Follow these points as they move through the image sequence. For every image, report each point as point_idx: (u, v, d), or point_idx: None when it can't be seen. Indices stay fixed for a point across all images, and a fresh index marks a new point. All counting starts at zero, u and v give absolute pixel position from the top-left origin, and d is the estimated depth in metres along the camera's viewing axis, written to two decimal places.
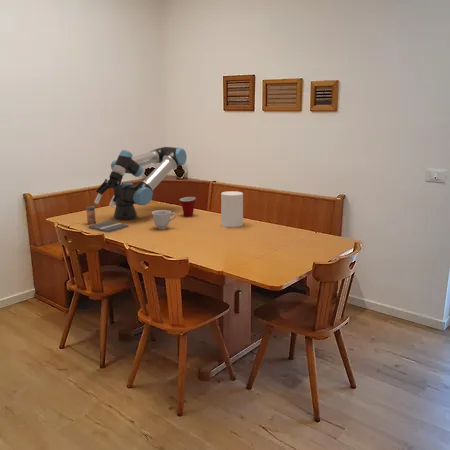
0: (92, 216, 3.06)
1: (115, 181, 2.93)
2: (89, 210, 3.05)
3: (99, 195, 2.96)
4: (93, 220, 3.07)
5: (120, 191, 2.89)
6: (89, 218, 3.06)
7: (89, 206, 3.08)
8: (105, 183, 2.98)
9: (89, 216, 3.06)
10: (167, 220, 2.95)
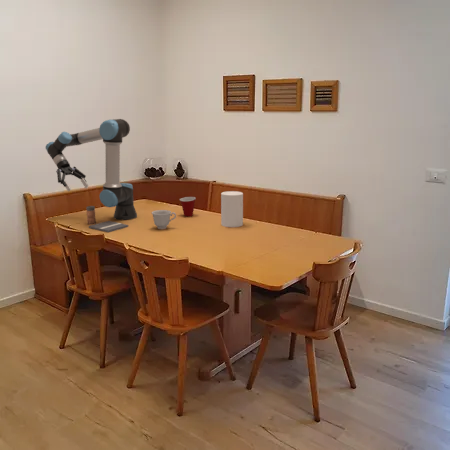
0: (92, 216, 3.06)
1: None
2: (89, 210, 3.05)
3: (82, 180, 3.16)
4: (93, 220, 3.07)
5: (58, 177, 3.05)
6: (89, 218, 3.06)
7: (89, 206, 3.08)
8: None
9: (89, 216, 3.06)
10: (167, 220, 2.95)
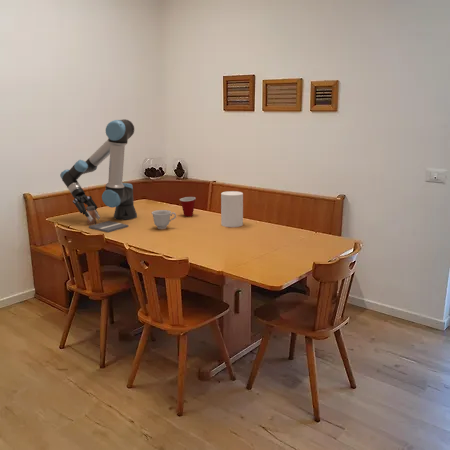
0: (93, 216, 3.06)
1: None
2: (89, 210, 3.05)
3: None
4: (93, 220, 3.07)
5: (79, 208, 3.04)
6: None
7: (89, 206, 3.08)
8: (89, 200, 3.14)
9: None
10: (167, 220, 2.95)
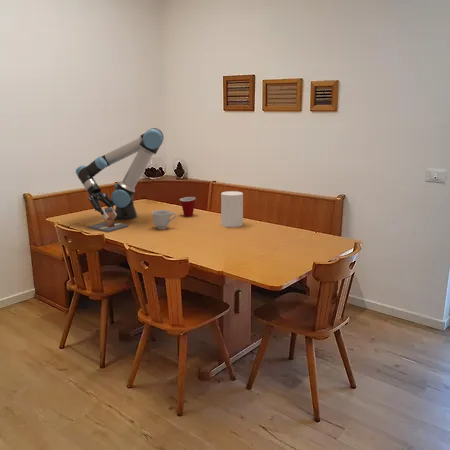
0: (111, 218, 2.96)
1: None
2: (107, 212, 2.94)
3: None
4: (112, 222, 2.96)
5: (94, 205, 2.93)
6: (108, 220, 2.95)
7: (107, 208, 2.97)
8: (105, 197, 3.03)
9: (107, 218, 2.95)
10: (167, 220, 2.95)
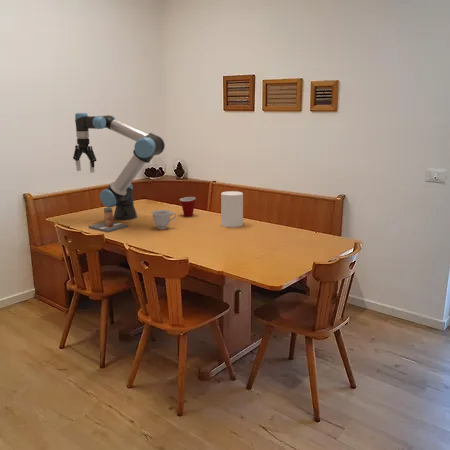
0: (110, 218, 2.96)
1: None
2: (107, 212, 2.94)
3: None
4: (111, 222, 2.97)
5: None
6: (107, 220, 2.95)
7: (106, 208, 2.97)
8: None
9: (107, 218, 2.95)
10: (167, 220, 2.95)
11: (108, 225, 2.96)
